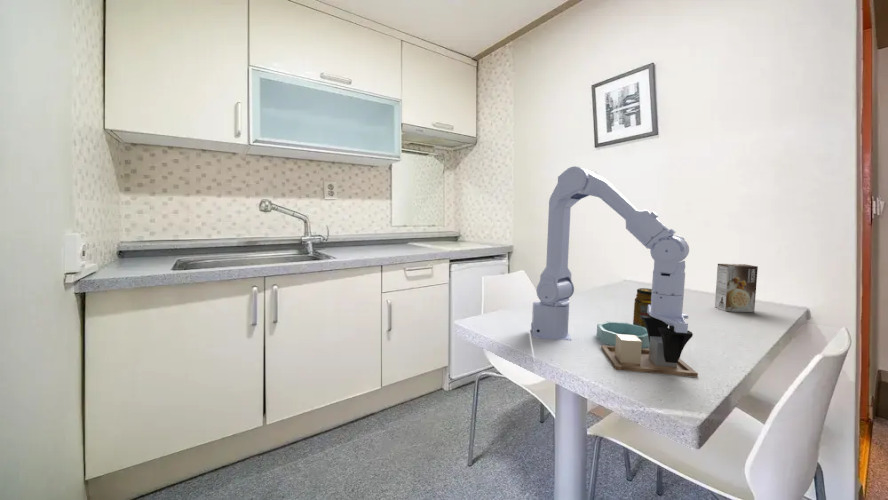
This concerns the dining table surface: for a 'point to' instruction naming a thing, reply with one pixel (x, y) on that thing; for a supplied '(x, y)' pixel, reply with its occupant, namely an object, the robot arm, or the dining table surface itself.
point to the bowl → (621, 332)
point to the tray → (648, 364)
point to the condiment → (641, 305)
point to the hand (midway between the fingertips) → (663, 354)
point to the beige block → (628, 348)
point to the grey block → (658, 352)
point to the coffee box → (736, 287)
